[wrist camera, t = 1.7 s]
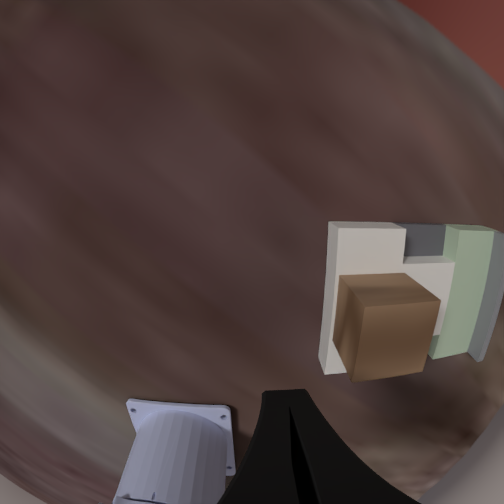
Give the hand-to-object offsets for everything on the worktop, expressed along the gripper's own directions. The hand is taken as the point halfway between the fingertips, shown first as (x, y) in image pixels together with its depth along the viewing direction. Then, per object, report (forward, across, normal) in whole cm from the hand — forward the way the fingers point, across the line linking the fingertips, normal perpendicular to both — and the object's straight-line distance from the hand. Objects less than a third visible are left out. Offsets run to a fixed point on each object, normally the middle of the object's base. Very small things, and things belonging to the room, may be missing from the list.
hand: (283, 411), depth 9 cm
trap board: (+10, -10, 0) cm, 14 cm away
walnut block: (+8, -6, 0) cm, 10 cm away
